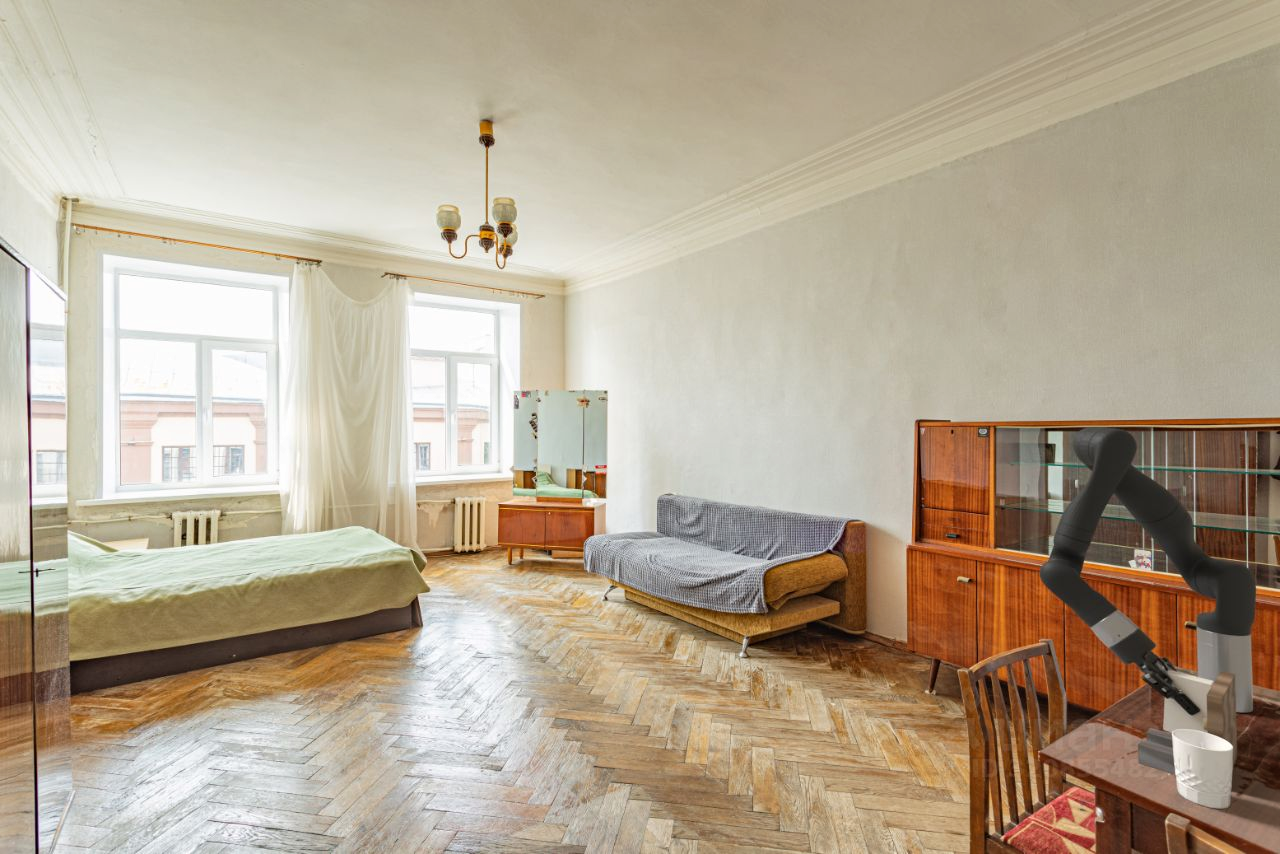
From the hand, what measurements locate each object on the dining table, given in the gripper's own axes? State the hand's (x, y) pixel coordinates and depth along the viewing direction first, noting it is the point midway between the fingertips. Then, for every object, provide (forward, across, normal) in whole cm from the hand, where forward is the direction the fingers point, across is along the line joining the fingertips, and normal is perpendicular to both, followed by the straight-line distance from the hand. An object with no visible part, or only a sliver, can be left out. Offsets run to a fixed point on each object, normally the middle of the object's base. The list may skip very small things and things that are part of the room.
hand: (1197, 710), depth 126 cm
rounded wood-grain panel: (+4, -11, +5) cm, 12 cm away
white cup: (+7, -25, +2) cm, 26 cm away
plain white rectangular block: (+3, 0, +5) cm, 6 cm away
